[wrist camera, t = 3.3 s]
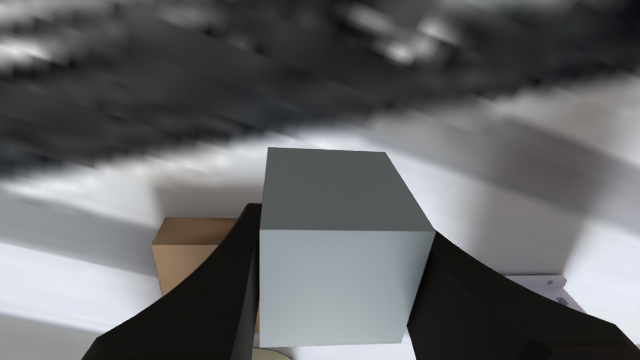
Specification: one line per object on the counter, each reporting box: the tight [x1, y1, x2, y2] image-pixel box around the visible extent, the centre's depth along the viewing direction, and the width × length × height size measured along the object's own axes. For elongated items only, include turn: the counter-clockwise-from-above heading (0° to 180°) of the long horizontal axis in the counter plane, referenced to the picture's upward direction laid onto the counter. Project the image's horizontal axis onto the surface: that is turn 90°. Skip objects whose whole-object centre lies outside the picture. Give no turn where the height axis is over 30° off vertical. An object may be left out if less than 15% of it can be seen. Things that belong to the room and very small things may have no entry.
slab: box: [151, 218, 260, 333], centre depth 23 cm, size 8×8×3 cm
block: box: [260, 147, 436, 348], centre depth 12 cm, size 4×4×5 cm
